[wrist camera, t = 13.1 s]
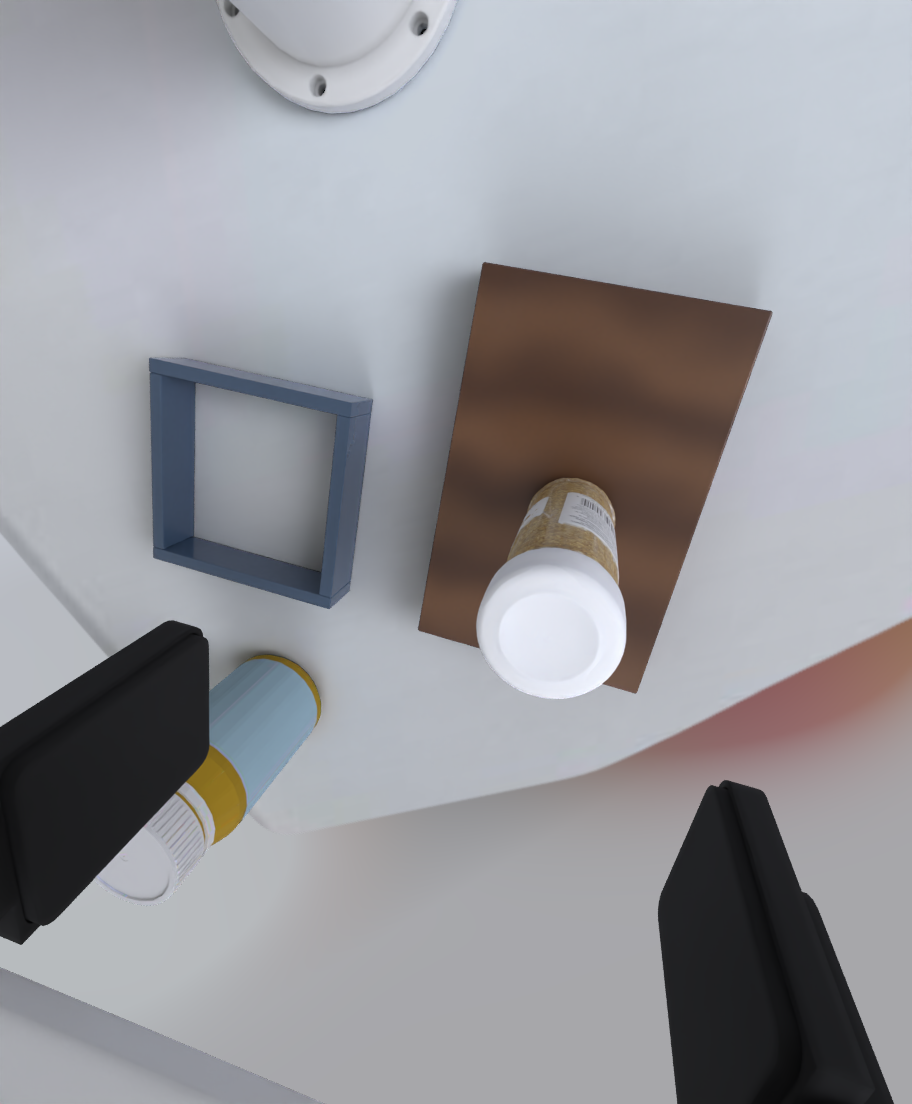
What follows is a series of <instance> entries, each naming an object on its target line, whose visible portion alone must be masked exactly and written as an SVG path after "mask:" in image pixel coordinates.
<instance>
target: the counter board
mask: <svg viewBox="0 0 912 1104" xmlns="http://www.w3.org/2000/svg"><path fill="white" fill-rule="evenodd" d="M771 316H772V311H767V310H762V309H756V308H750V307H744V306H738V305H732V304H726V303H721V302H715V301H709V300H703V299H697V298H691V297H686V296H680V295H674V294H668V293H662V292H656V291H650V290H645V289H639V288H633V287H627V286H621V285H615V284H610V283H604V282H598V281H592V280H586V279H580V278H574V277H569V276H563V275H557V274H551V273H545V272H539V271H534V270H528V269H522V268H516V267H510V266H504V265H498V264H493V263H487V262H484V263H483V265H482V270H481V276H480V282H479V287H478V293H477V298H476V304H475V310H474V315H473V321H472V327H471V332H470V338H469V344H468V349H467V355H466V361H465V366H464V372H463V378H462V383H461V389H460V395H459V400H458V406H457V412H456V417H455V423H454V429H453V434H452V440H451V446H450V451H449V457H448V463H447V468H446V474H445V480H444V485H443V491H442V497H441V502H440V508H439V514H438V519H437V525H436V531H435V536H434V542H433V548H432V553H431V559H430V564H429V570H428V576H427V581H426V587H425V593H424V598H423V604H422V610H421V615H420V621H419V627H418V630H419V631H422V632H425V633H429V634H432V635H436V636H439V637H442V638H446V639H449V640H453V641H456V642H460V643H463V644H467V645H470V646H473V647H477V648H480V647H479V643H478V639H477V630H476V621H477V615H478V611H479V607H480V604H481V602H482V599H483V597H484V594H485V592H486V590H487V588H488V586H489V584H490V582H491V580H492V578H493V577H494V575H495V574H496V573H497V571H498V570H499V569H500V568H501V567H502V566H503V565H504V564H505V563H506V562H507V559H508V556H509V553H510V550H511V547H512V545H513V543H514V541H515V538H516V536H517V534H518V531H519V529H520V527H521V524H522V522H523V520H524V518H525V516H526V514H527V510H528V507H529V505H530V503H531V500H532V498H533V497H534V495H535V494H536V493H537V492H538V491H539V490H540V489H542V488H543V487H544V486H545V485H547V484H549V483H550V482H553V481H555V480H557V479H561V478H579V479H582V480H586V481H588V482H591V483H593V484H595V485H596V486H597V487H599V488H600V489H601V490H603V491H604V492H605V494H606V495H607V497H608V499H609V500H610V501H611V504H612V507H613V509H614V512H615V528H614V530H615V536H616V547H617V556H618V571H619V584H618V587H619V589H620V591H621V594H622V597H623V600H624V605H625V613H626V644H625V649H624V653H623V656H622V658H621V661H620V663H619V664H618V666H617V668H616V669H615V671H614V672H613V673H612V675H611V676H610V677H609V678H608V679H607V680H606V681H605V682H604V683H602V684H604V685H608V686H611V687H615V688H618V689H622V690H625V691H629V692H632V693H637V691H638V688H639V685H640V682H641V680H642V677H643V674H644V671H645V669H646V666H647V663H648V660H649V657H650V655H651V652H652V649H653V646H654V643H655V641H656V638H657V635H658V632H659V629H660V627H661V624H662V621H663V618H664V615H665V613H666V610H667V607H668V604H669V601H670V599H671V596H672V593H673V590H674V587H675V585H676V582H677V579H678V576H679V573H680V571H681V568H682V565H683V562H684V559H685V557H686V554H687V551H688V548H689V545H690V543H691V540H692V537H693V534H694V532H695V529H696V526H697V523H698V520H699V518H700V515H701V512H702V509H703V506H704V504H705V501H706V498H707V495H708V492H709V490H710V487H711V484H712V481H713V478H714V476H715V473H716V470H717V467H718V464H719V462H720V459H721V456H722V453H723V450H724V448H725V445H726V442H727V439H728V436H729V434H730V431H731V428H732V425H733V422H734V420H735V417H736V414H737V411H738V408H739V406H740V403H741V400H742V397H743V395H744V392H745V389H746V386H747V383H748V381H749V378H750V375H751V372H752V369H753V367H754V364H755V361H756V358H757V355H758V353H759V350H760V347H761V344H762V341H763V339H764V336H765V333H766V330H767V327H768V325H769V322H770V319H771Z"/></svg>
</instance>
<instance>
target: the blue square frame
mask: <svg viewBox="0 0 912 1104" xmlns="http://www.w3.org/2000/svg"><path fill="white" fill-rule="evenodd" d="M149 371H150V372H151V373H150V410H151V459H152V508H153V546H154V547H153V558H155V559H159V560H162V561H166V562H169V563H173V564H176V565H179V566H183V567H186V568H190V569H193V570H197V571H200V572H203V573H207V574H210V575H214V576H217V577H221V578H224V579H227V580H231V581H234V582H238V583H241V584H245V585H248V586H251V587H255V588H258V589H262V590H265V591H269V592H272V593H275V594H279V595H282V596H286V597H289V598H293V599H296V600H299V601H303V602H306V603H310V604H313V605H317V606H320V607H323V608H327V609H330V608H331V607H332V606H333V605H335V604H336V603H337V602H338V601H339V600H340V599H341V598H342V597H343V596H344V595H346V594H347V593H348V592H349V590H350V582H351V581H350V580H351V574H352V566H353V558H354V550H355V541H356V533H357V525H358V517H359V509H360V500H361V492H362V484H363V476H364V467H365V459H366V451H367V443H368V435H369V426H370V418H371V410H372V402H373V400H372V399H369V398H365V397H360V396H355V395H351V394H346V393H342V392H337V391H333V390H328V389H324V388H319V387H315V386H310V385H306V384H301V383H297V382H292V381H288V380H283V379H278V378H274V377H269V376H265V375H260V374H256V373H251V372H247V371H242V370H238V369H233V368H229V367H224V366H220V365H215V364H211V363H206V362H201V361H197V360H192V359H188V358H149ZM195 382H196V383H200V384H205V385H209V386H214V387H218V388H222V389H227V390H231V391H236V392H240V393H244V394H249V395H253V396H257V397H262V398H266V399H271V400H275V401H279V402H284V403H288V404H292V405H297V406H301V407H306V408H310V409H314V410H319V411H323V412H328V413H332V414H336V415H337V422H336V432H335V442H334V452H333V462H332V472H331V482H330V492H329V502H328V512H327V522H326V532H325V542H324V552H323V562H322V572H317V571H314V570H310V569H307V568H303V567H300V566H296V565H292V564H289V563H285V562H282V561H278V560H275V559H271V558H268V557H264V556H260V555H257V554H253V553H250V552H246V551H243V550H239V549H235V548H232V547H228V546H225V545H221V544H218V543H214V542H211V541H207V540H203V539H200V538H196V537H193V536H194V453H195Z"/></svg>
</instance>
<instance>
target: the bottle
mask: <svg viewBox="0 0 912 1104" xmlns="http://www.w3.org/2000/svg"><path fill="white" fill-rule="evenodd" d="M320 714H321V701H320V697H319V694H318V691H317V688H316V686H315V684H314V682H313V681H312V679H311V678H310V676H309V675H308V674H307V673H306V672H305V671H304V670H303V669H302V668H301V667H300V666H299V665H297V664H295V663H293V662H291V661H290V660H288V659H285V658H282V657H278V656H274V655H259V656H255V657H253V658H251V659H249V660H247V661H246V662H244V663H243V664H242V665H240V666H239V667H238V668H237V669H235V670H234V671H233V672H232V673H231V674H229V675H228V676H227V677H226V678H225V679H224V680H222V681H221V682H220V683H219V684H218V685H216V686H215V687H214V688H213V689H212V690H210V691H209V741H210V746H209V751H208V755H207V757H206V759H205V761H204V762H203V764H202V765H201V766H200V768H199V769H198V770H197V771H196V772H195V773H194V774H193V775H192V776H191V777H190V778H189V779H188V780H187V781H186V782H185V783H184V784H183V785H182V787H181V788H180V789H179V790H178V791H177V792H176V793H175V794H174V795H173V796H172V797H171V798H170V799H169V800H168V801H167V802H166V803H165V805H164V806H163V807H162V808H161V809H160V810H159V811H158V812H157V813H156V814H155V815H154V816H153V817H152V818H151V819H150V820H149V821H148V822H147V824H146V825H145V826H144V827H143V828H142V829H141V830H140V831H139V832H138V833H137V834H136V835H135V836H134V837H133V838H132V839H131V840H130V841H129V843H128V844H127V845H126V846H125V847H124V848H123V849H122V850H121V851H120V852H119V853H118V854H117V855H116V856H115V857H114V858H113V859H112V860H111V862H110V863H109V864H108V865H107V866H106V867H105V868H104V869H103V870H102V871H101V872H100V873H99V874H98V875H97V876H96V877H95V878H94V881H95V882H96V883H97V884H98V885H100V886H101V887H102V888H103V889H105V890H106V891H107V892H109V893H111V894H112V895H114V896H116V897H118V898H120V899H122V900H124V901H126V902H129V903H132V904H137V905H143V906H151V905H156V904H160V903H162V902H164V901H165V900H166V899H168V898H169V897H171V896H172V894H174V892H175V891H176V890H177V889H178V887H179V886H180V885H181V884H182V882H183V881H184V880H185V879H186V877H187V876H188V875H189V874H190V873H191V871H192V870H193V869H194V868H195V866H196V865H197V864H198V862H199V860H200V859H201V858H202V857H203V855H204V854H205V853H206V852H207V850H208V849H209V847H210V846H212V845H213V844H215V843H216V842H218V841H220V840H221V839H223V838H224V837H226V836H227V835H229V834H230V833H231V832H232V831H233V830H234V829H235V828H236V826H237V825H238V824H239V823H240V822H241V821H242V820H243V818H244V817H245V816H246V815H247V813H248V812H249V811H250V809H251V808H252V807H253V806H254V804H255V803H256V802H257V801H258V799H259V798H260V797H261V795H262V794H263V793H264V792H265V790H266V789H267V788H268V787H269V785H270V784H271V783H272V781H273V780H274V779H275V778H276V776H277V775H278V774H279V772H280V771H281V770H282V769H283V767H284V766H285V765H286V764H287V762H288V761H289V760H290V758H291V757H292V756H293V755H294V753H295V752H296V751H297V750H298V748H299V747H300V746H301V744H302V743H303V742H304V741H305V739H306V738H307V737H308V736H309V734H310V733H311V732H312V730H313V729H314V727H315V726H316V724H317V722H318V720H319V718H320Z"/></svg>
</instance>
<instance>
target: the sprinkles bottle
mask: <svg viewBox="0 0 912 1104" xmlns="http://www.w3.org/2000/svg"><path fill="white" fill-rule="evenodd" d="M614 528H615V512H614V509H613V507H612V504H611V501H610V500H609V499H608V497H607V495H606V494H605V492H604V491H603V490H601V489H600V488H599V487H597V486H596V485H595V484H593V483H591V482H588V481H586V480H582V479H579V478H561V479H557V480H555V481H553V482H550V483H549V484H547V485H545V486H544V487H543V488H542V489H540V490H539V491H538V492H537V493H536V494H535V495H534V497H533V498H532V500H531V503H530V505H529V507H528V510H527V514H526V516H525V518H524V520H523V522H522V524H521V527H520V529H519V531H518V534H517V536H516V538H515V541H514V543H513V545H512V547H511V550H510V553H509V556H508V559H507V562H506V563H505V564H504V565H503V566H502V567H501V568H500V569H499V570H498V571H497V573H496V574H495V575H494V577H493V578H492V580H491V582H490V584H489V586H488V588H487V590H486V592H485V594H484V597H483V599H482V602H481V604H480V607H479V611H478V615H477V621H476V630H477V639H478V643H479V647H480V649H481V652H482V654H483V656H484V658H485V660H486V661H487V663H488V665H489V666H490V667H491V668H492V670H493V671H494V672H495V673H496V674H497V675H498V676H499V677H500V678H501V679H502V680H504V681H505V682H506V683H507V684H509V685H510V686H512V687H514V688H515V689H517V690H519V691H522V692H524V693H526V694H529V695H532V696H536V697H541V698H548V699H565V698H571V697H575V696H579V695H582V694H585V693H587V692H589V691H591V690H593V689H595V688H597V687H598V686H600V685H601V684H602V683H604V682H605V681H606V680H607V679H608V678H609V677H610V676H611V675H612V673H613V672H614V671H615V669H616V668H617V666H618V664H619V663H620V661H621V658H622V656H623V653H624V649H625V644H626V613H625V605H624V600H623V597H622V594H621V591H620V589H619V587H618V584H619V571H618V556H617V547H616V536H615V530H614Z"/></svg>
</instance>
